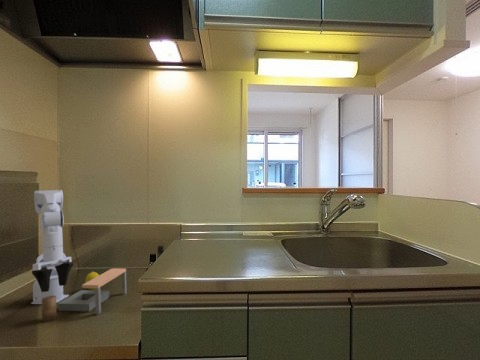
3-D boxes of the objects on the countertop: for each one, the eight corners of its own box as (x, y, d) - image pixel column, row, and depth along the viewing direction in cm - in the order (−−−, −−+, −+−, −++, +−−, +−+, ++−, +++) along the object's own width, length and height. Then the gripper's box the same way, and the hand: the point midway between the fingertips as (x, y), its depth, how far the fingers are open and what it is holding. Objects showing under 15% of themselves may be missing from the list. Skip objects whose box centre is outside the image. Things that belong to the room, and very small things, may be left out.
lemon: (94, 293, 114) (93, 273, 114) (82, 292, 115) (81, 273, 115) (103, 288, 119) (102, 269, 119) (92, 287, 120) (91, 269, 120)
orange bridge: (82, 314, 96) (81, 284, 96) (112, 293, 114) (112, 268, 114) (99, 314, 95) (98, 285, 95) (126, 293, 113) (126, 268, 113)
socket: (57, 310, 99) (57, 303, 99) (81, 296, 111) (80, 290, 111) (89, 311, 98) (89, 304, 98) (109, 297, 110) (109, 290, 110)
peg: (39, 321, 91) (38, 300, 91) (48, 316, 95) (48, 295, 95) (50, 322, 91) (49, 300, 91) (59, 316, 95) (59, 295, 95)
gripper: (46, 248, 88) (47, 293, 86) (78, 243, 102) (80, 281, 100) (26, 250, 88) (27, 295, 87) (60, 245, 103) (62, 283, 101)
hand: (54, 288), depth 93 cm, fingers open, 7 cm apart
